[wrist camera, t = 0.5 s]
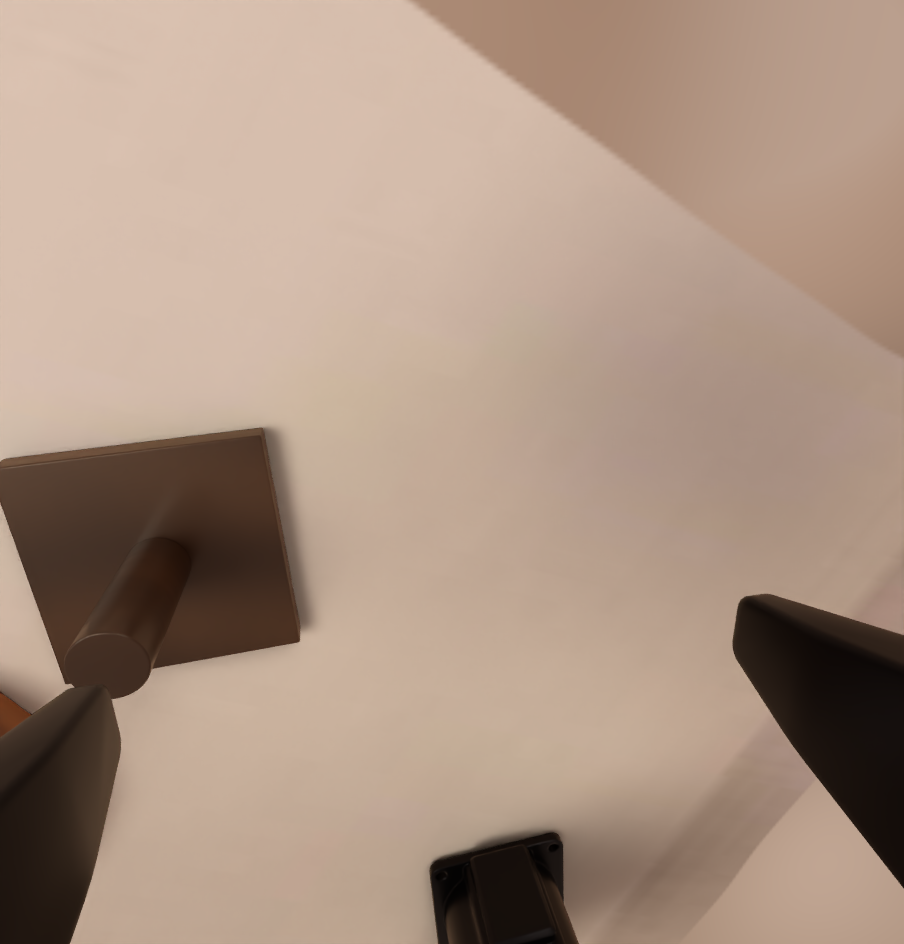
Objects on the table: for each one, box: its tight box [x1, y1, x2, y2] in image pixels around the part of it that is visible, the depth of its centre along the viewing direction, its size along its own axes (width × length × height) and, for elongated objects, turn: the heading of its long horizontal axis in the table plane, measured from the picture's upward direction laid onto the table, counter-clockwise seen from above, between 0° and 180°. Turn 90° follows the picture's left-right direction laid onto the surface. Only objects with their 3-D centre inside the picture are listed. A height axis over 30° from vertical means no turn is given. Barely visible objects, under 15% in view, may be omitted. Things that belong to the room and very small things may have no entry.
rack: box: [0, 428, 300, 699], centre depth 18 cm, size 8×8×6 cm
